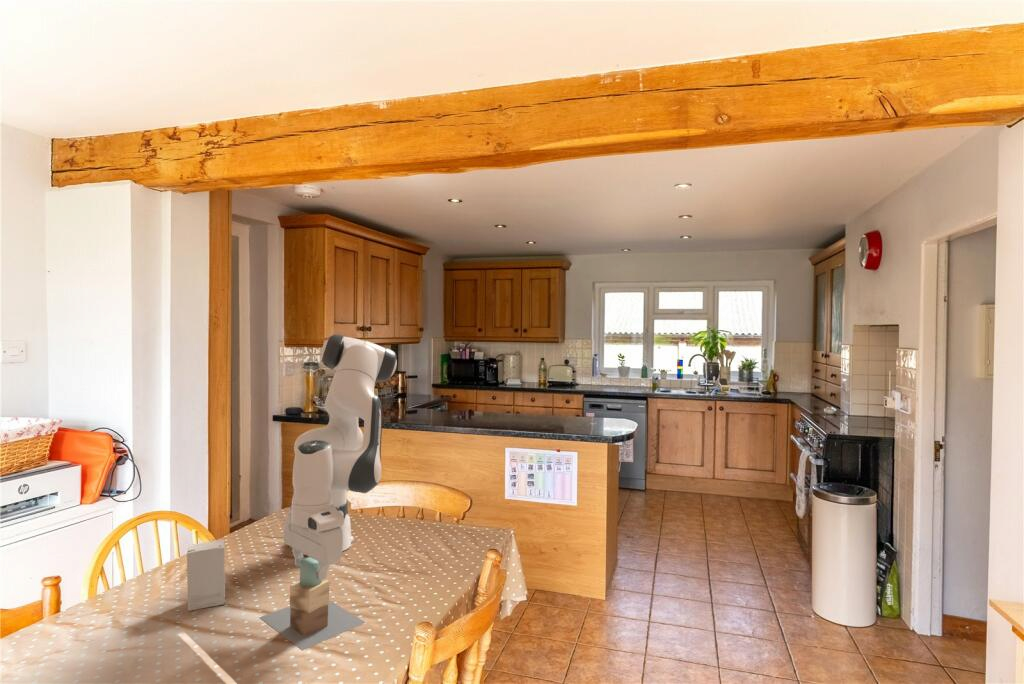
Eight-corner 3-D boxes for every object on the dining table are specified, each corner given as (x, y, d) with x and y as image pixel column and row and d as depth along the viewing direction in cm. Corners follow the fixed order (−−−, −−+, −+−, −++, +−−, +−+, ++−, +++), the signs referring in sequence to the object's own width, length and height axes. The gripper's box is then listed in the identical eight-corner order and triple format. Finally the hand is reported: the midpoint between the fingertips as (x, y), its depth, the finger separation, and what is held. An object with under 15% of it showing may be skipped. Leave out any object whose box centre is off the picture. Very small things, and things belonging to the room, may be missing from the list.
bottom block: (290, 626, 127) (290, 604, 127) (314, 616, 132) (314, 595, 132) (303, 636, 123) (304, 613, 123) (327, 625, 128) (328, 604, 128)
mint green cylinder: (295, 582, 127) (296, 561, 127) (314, 576, 131) (315, 555, 131) (306, 589, 124) (307, 567, 124) (325, 582, 128) (326, 561, 128)
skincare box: (225, 595, 143) (226, 538, 143) (224, 606, 138) (225, 546, 137) (187, 601, 139) (189, 542, 139) (185, 612, 134) (186, 551, 134)
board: (258, 621, 131) (259, 617, 131) (320, 598, 143) (320, 594, 143) (302, 654, 118) (302, 650, 118) (366, 626, 130) (366, 622, 130)
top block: (289, 607, 126) (290, 585, 126) (309, 596, 131) (310, 575, 131) (309, 613, 123) (309, 591, 123) (328, 602, 129) (329, 580, 129)
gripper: (276, 505, 132) (275, 563, 132) (323, 526, 118) (321, 591, 118) (301, 500, 136) (300, 556, 136) (348, 519, 123) (347, 581, 123)
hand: (310, 572), depth 127 cm, fingers open, 8 cm apart
